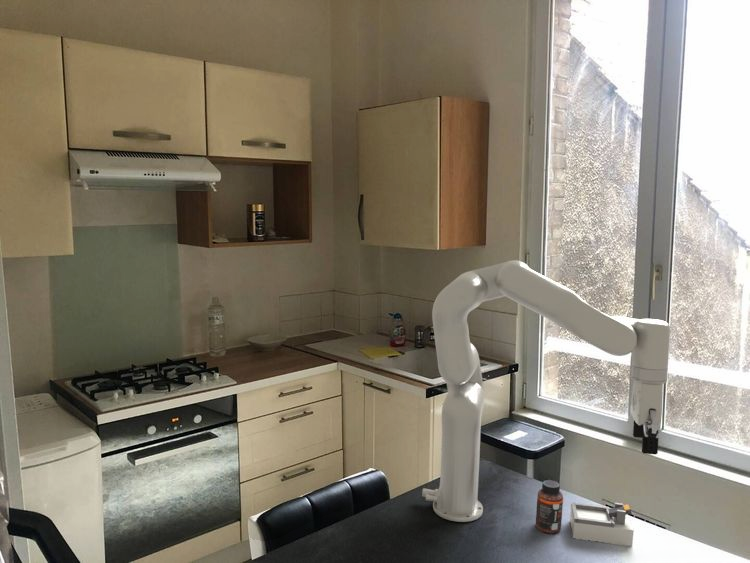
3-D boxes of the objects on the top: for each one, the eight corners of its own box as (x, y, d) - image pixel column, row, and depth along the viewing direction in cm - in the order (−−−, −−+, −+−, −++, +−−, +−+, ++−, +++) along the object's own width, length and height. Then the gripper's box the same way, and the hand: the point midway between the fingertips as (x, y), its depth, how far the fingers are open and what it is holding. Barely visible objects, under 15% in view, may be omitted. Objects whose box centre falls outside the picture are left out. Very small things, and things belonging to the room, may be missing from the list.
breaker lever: (610, 517, 144) (609, 512, 144) (609, 512, 146) (607, 507, 146) (631, 513, 143) (630, 508, 143) (629, 509, 145) (628, 504, 145)
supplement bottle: (562, 536, 145) (565, 490, 143) (536, 532, 146) (539, 487, 145) (559, 523, 151) (562, 479, 149) (534, 520, 152) (537, 476, 150)
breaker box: (573, 538, 144) (575, 509, 143) (570, 521, 152) (572, 493, 151) (632, 546, 141) (634, 517, 140) (625, 528, 149) (628, 500, 148)
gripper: (624, 363, 149) (620, 430, 152) (639, 383, 133) (635, 458, 135) (657, 364, 148) (653, 432, 150) (677, 385, 131) (671, 461, 133)
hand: (644, 445), depth 142 cm, fingers open, 9 cm apart
